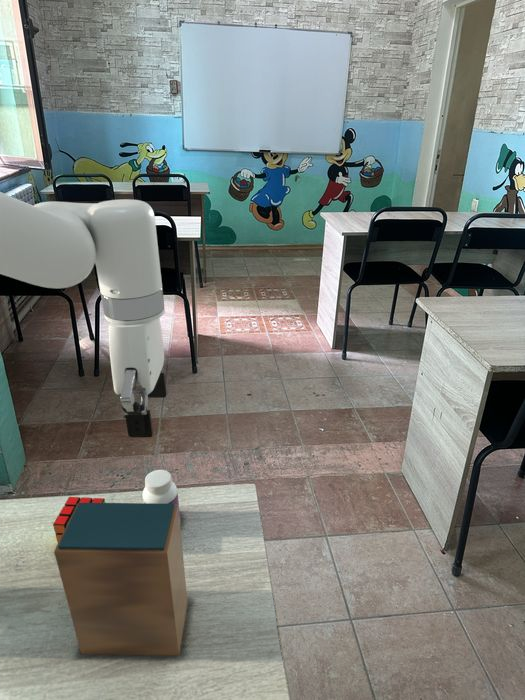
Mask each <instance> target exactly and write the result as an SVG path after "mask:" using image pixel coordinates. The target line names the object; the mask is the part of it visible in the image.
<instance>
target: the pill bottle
mask: <svg viewBox="0 0 525 700" xmlns="http://www.w3.org/2000/svg"><path fill="white" fill-rule="evenodd" d="M144 484H145V485H144V488H143V491H142V503H156V504H175V505H178V509H179V510H180V503H179V493H178V487H177V485H176V483H174V482H173V478H172V474H171V472H170V471H167V470H166V469H155V470H153V471H151V472H149V473H148V474H147V475H145V479H144ZM179 519H180V520H181V514H180V511H179Z"/></svg>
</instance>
